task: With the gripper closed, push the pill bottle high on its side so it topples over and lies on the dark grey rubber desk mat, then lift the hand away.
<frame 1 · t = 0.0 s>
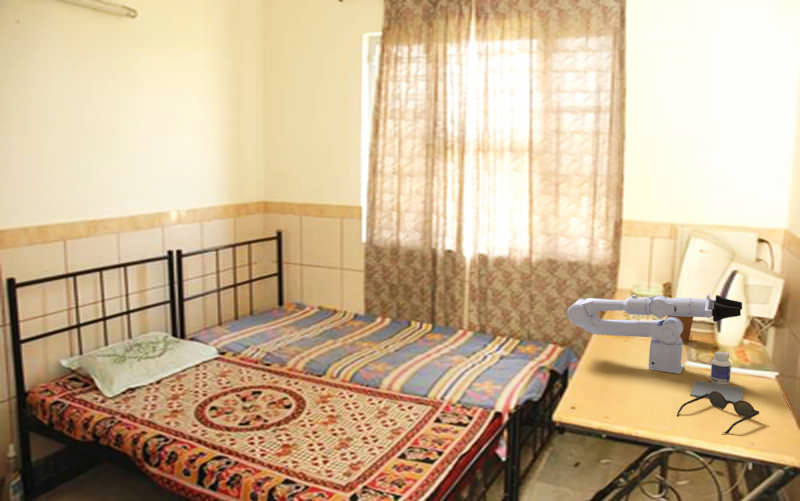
hand: (741, 308, 196), 22 cm above the table, tool horizontal, fingers open, 7 cm apart
pill bottle: (719, 382, 197), on the table
disposable coffee cup: (678, 340, 237), on the table
eyeglasses: (714, 420, 173), on the table
desk mat: (717, 392, 190), on the table
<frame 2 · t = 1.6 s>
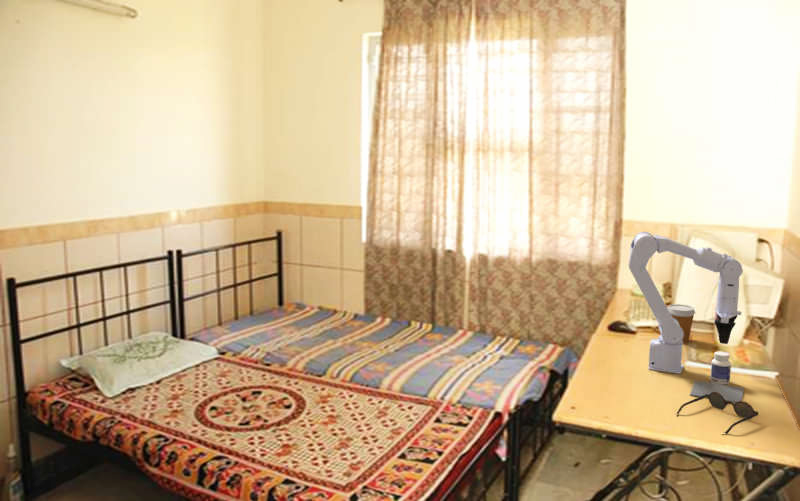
hand: (724, 339, 203), 10 cm above the table, tool pointing down, fingers open, 7 cm apart
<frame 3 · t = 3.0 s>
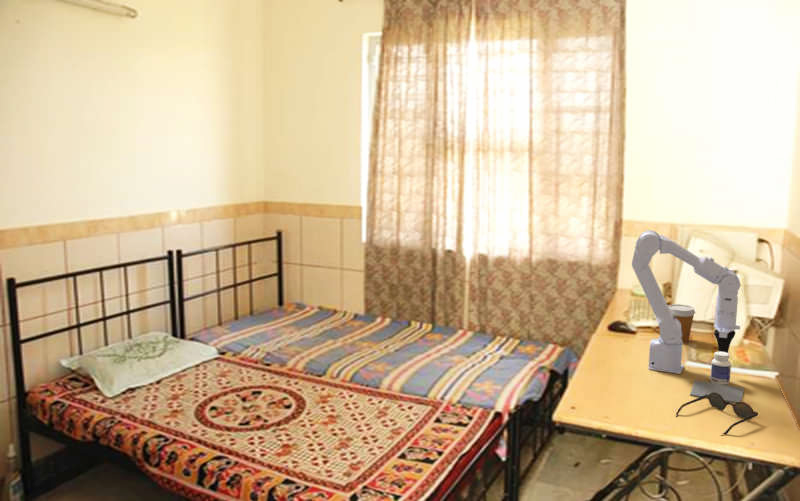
hand: (723, 354, 202), 6 cm above the table, tool pointing down, fingers closed
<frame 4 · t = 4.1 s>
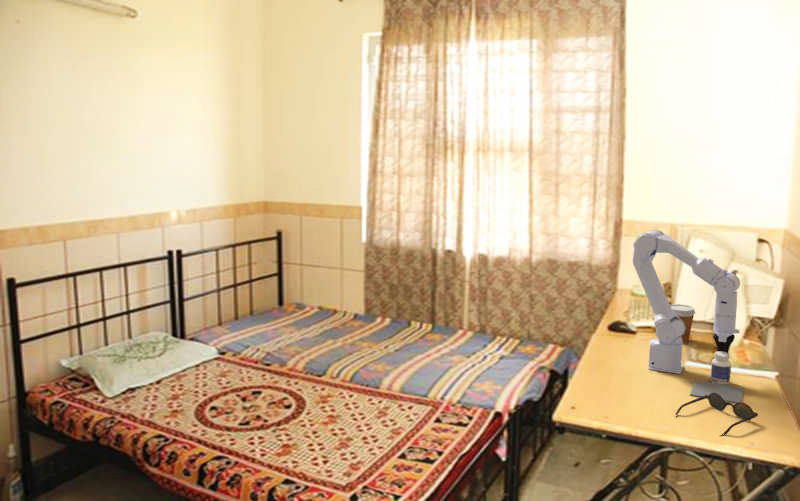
hand: (722, 358, 198), 7 cm above the table, tool pointing down, fingers closed, pressing on pill bottle
pill bottle: (719, 382, 197), on the table, touching gripper
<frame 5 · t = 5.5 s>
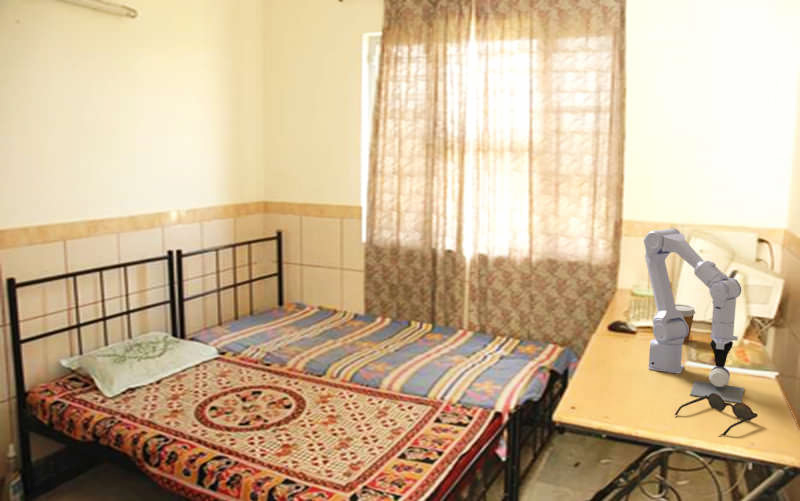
hand: (720, 366, 192), 6 cm above the table, tool pointing down, fingers closed
pill bottle: (720, 374, 195), point 3 cm above the table, touching desk mat
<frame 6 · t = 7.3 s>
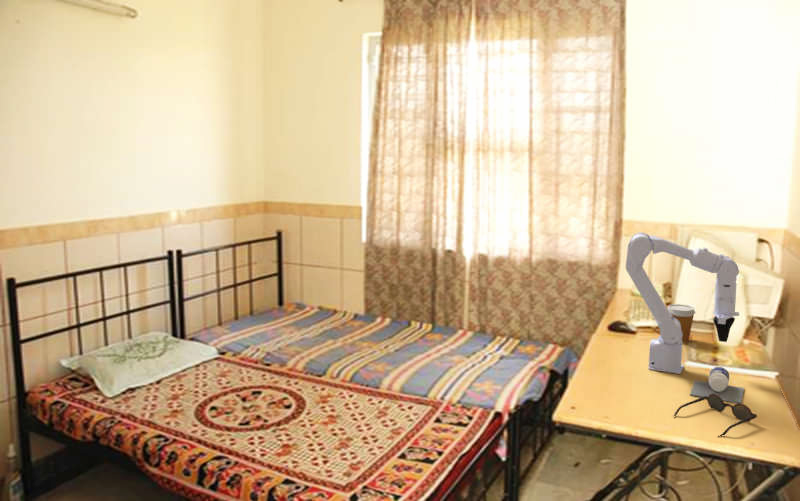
hand: (722, 341, 202), 10 cm above the table, tool pointing down, fingers closed
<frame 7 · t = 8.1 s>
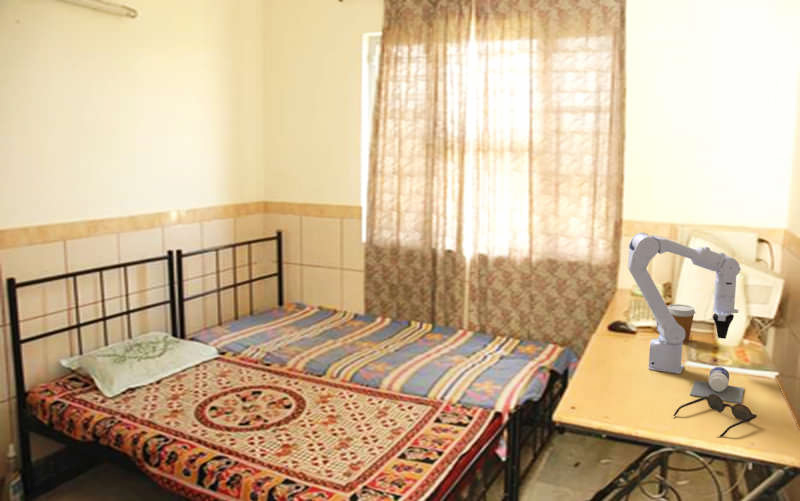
hand: (721, 337, 205), 10 cm above the table, tool pointing down, fingers closed
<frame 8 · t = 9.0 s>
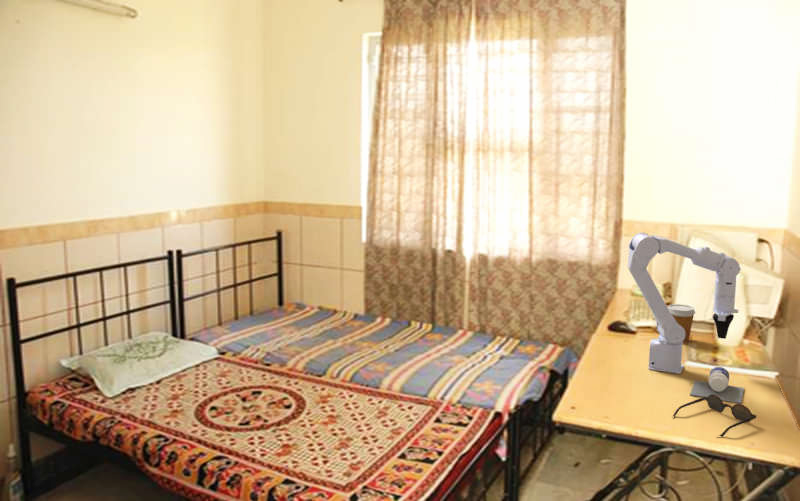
hand: (721, 337, 205), 10 cm above the table, tool pointing down, fingers closed
at the end: pill bottle tilted 90°; pill bottle inside the target area (5.8 cm from its centre), point 3.1 cm above the table; pill bottle touching desk mat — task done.
